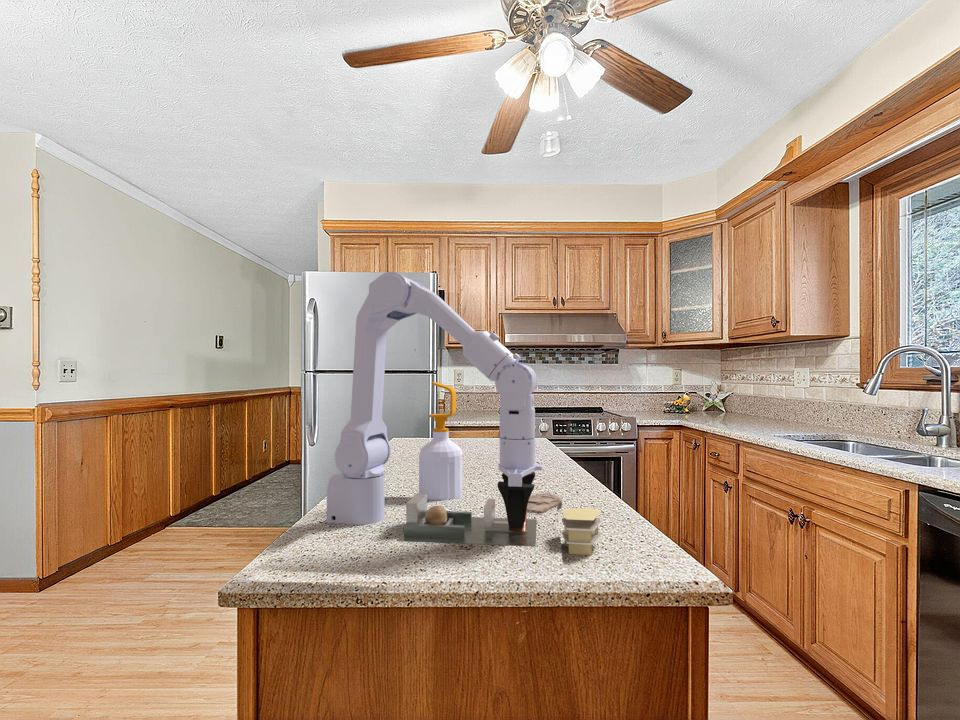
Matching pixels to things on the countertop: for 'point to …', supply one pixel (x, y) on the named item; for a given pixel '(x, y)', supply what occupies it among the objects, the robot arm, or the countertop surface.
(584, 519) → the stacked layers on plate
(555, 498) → the stone
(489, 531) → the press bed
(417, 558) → the countertop surface
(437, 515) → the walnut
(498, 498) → the countertop surface
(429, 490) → the soap bottle
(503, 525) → the ram
